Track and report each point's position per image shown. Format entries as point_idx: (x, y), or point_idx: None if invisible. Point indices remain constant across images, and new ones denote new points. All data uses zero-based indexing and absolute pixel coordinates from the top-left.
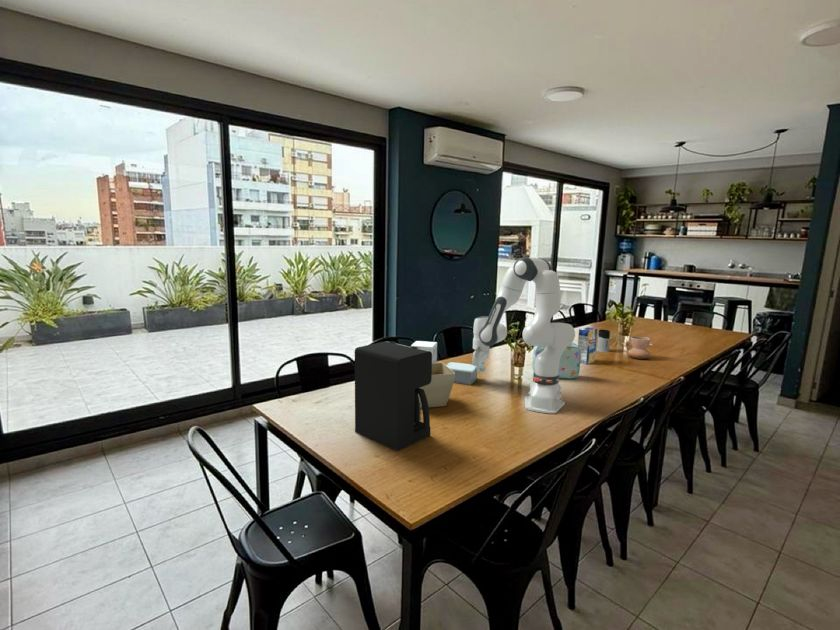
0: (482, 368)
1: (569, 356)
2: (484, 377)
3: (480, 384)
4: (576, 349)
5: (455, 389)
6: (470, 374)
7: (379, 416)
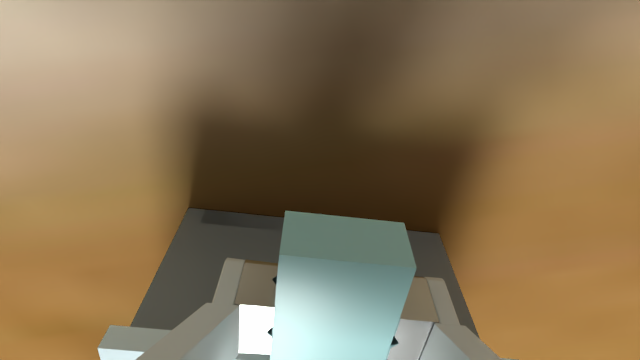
0: (408, 289)
1: None
2: (73, 137)
3: (391, 143)
4: None
5: (597, 321)
6: None
7: None
